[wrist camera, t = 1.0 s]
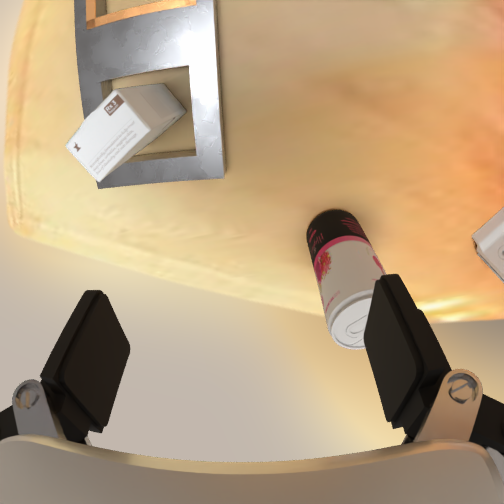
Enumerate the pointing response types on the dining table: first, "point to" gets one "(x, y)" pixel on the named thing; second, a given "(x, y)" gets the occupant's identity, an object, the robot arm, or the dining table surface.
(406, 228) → the dining table surface
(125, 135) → the skincare box
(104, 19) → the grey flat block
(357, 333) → the beverage can
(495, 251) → the white curved block
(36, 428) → the robot arm
